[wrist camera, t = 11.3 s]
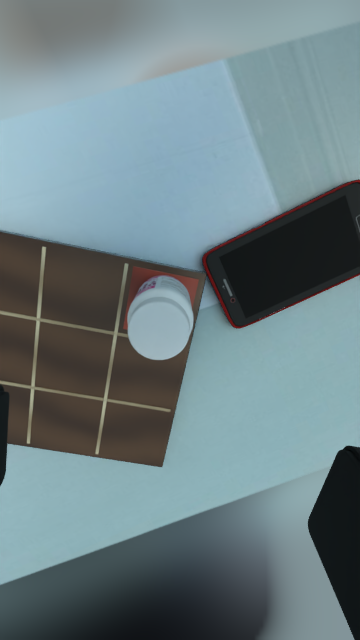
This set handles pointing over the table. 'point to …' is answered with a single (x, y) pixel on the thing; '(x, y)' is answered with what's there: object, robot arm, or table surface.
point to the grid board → (84, 351)
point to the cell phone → (288, 257)
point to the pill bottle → (160, 318)
